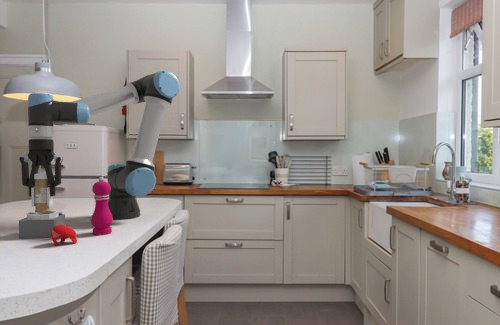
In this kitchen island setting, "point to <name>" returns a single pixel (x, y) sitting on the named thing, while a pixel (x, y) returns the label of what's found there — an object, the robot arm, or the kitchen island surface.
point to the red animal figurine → (63, 234)
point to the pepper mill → (101, 208)
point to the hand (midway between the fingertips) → (42, 205)
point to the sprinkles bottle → (41, 192)
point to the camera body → (40, 224)
